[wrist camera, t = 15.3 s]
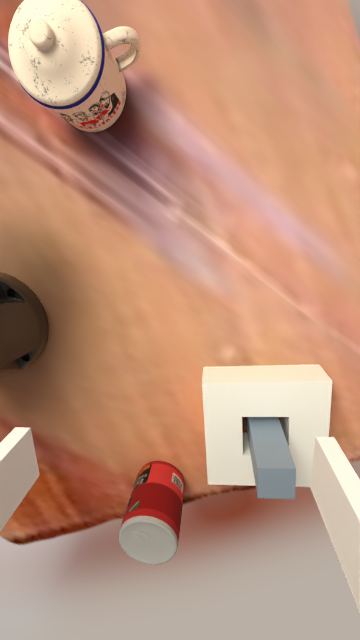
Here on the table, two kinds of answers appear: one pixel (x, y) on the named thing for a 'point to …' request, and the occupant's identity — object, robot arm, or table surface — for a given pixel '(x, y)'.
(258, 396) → the socket block
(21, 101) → the table surface
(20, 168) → the table surface
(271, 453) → the peg
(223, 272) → the table surface
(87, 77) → the teacup with lid
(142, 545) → the canned food
